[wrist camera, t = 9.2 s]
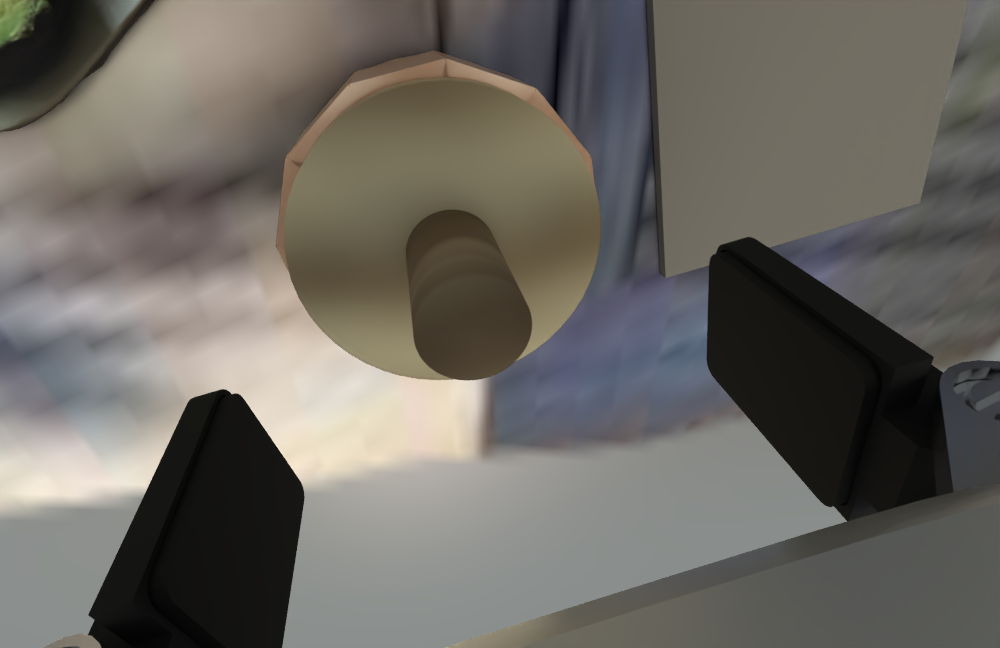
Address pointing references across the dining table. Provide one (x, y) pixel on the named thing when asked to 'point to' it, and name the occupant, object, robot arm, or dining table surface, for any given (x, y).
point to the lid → (442, 229)
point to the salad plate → (54, 50)
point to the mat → (791, 115)
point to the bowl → (392, 74)
